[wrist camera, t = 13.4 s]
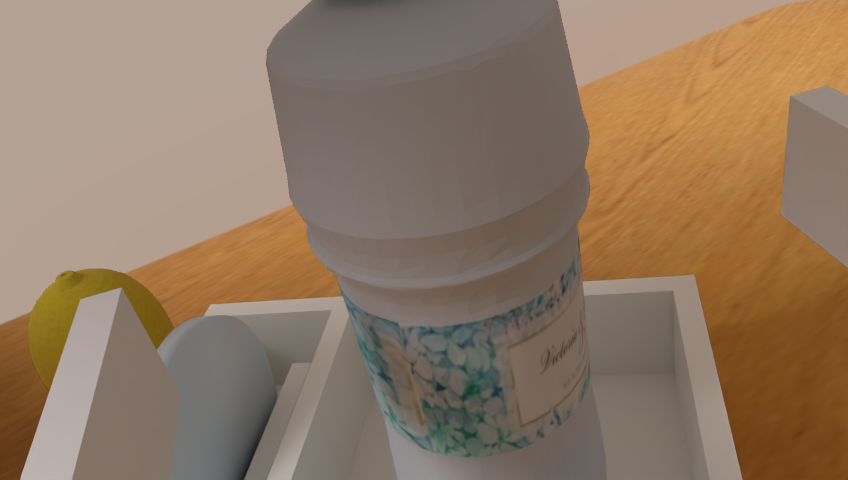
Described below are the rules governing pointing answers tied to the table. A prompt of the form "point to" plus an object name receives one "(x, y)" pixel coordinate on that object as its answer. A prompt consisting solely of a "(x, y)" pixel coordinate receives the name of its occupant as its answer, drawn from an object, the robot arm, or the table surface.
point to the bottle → (450, 223)
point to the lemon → (61, 305)
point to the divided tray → (363, 420)
